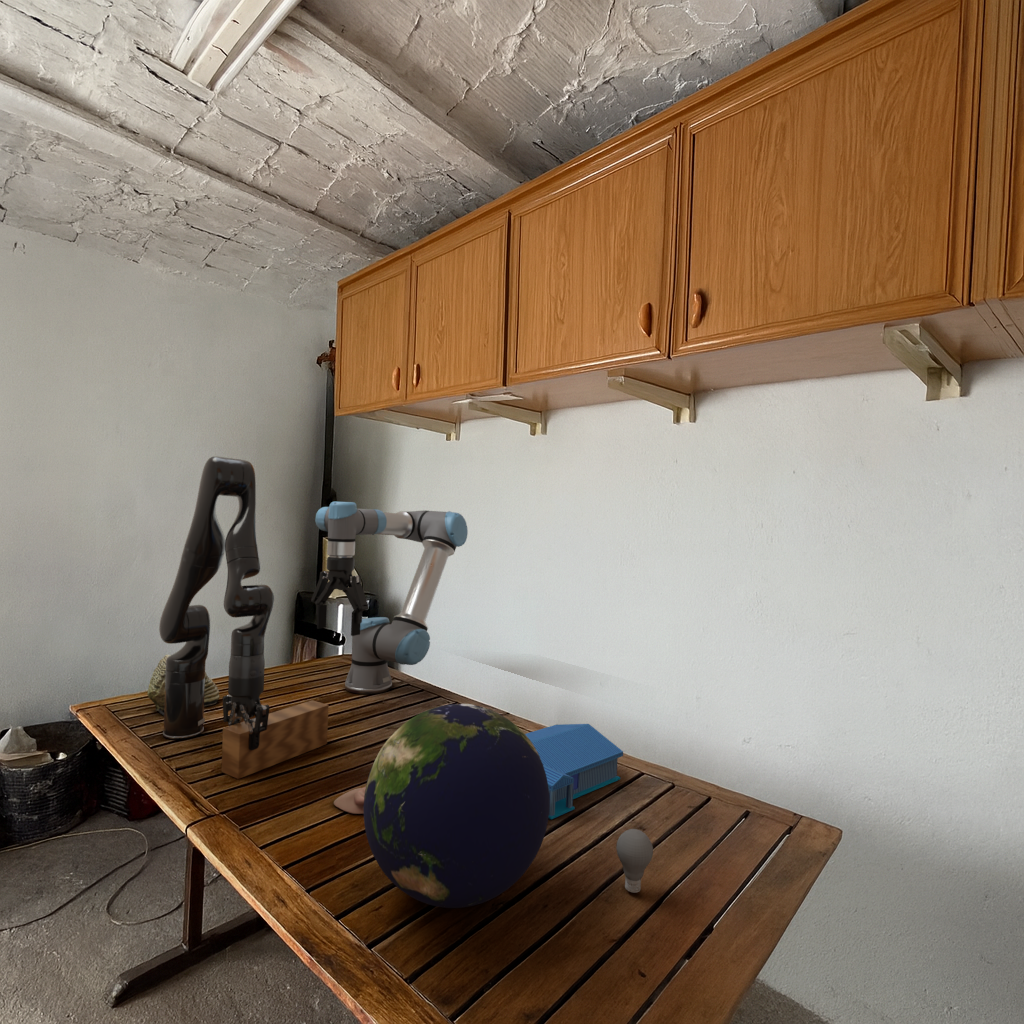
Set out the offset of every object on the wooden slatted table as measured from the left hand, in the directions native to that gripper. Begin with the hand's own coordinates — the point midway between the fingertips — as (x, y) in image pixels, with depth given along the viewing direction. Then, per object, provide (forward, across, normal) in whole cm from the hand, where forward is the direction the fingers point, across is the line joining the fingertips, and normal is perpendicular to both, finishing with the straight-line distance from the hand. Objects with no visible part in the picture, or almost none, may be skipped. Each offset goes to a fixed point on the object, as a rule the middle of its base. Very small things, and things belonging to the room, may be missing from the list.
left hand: (244, 745), depth 145 cm
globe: (+6, -66, +8) cm, 67 cm away
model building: (+6, -58, -32) cm, 67 cm away
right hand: (-19, +8, -35) cm, 41 cm away
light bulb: (+6, -90, -10) cm, 91 cm away
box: (+6, 0, -9) cm, 11 cm away
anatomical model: (+6, -34, -6) cm, 35 cm away
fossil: (+6, +50, -16) cm, 53 cm away
